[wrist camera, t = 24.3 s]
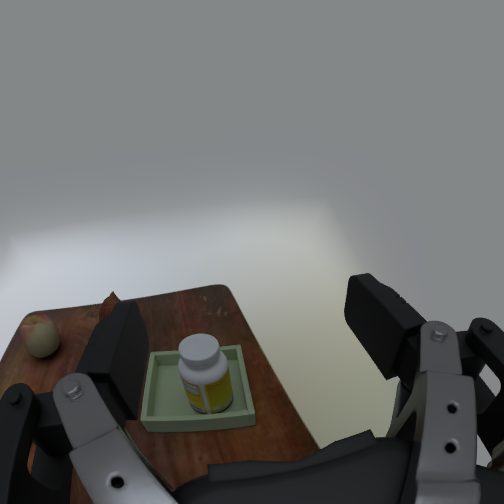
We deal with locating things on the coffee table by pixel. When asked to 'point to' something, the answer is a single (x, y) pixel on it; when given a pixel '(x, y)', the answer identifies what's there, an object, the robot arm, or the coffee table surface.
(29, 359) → the coffee table surface
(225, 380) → the pill bottle
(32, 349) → the apple
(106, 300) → the fossil
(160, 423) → the tray
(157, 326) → the coffee table surface
